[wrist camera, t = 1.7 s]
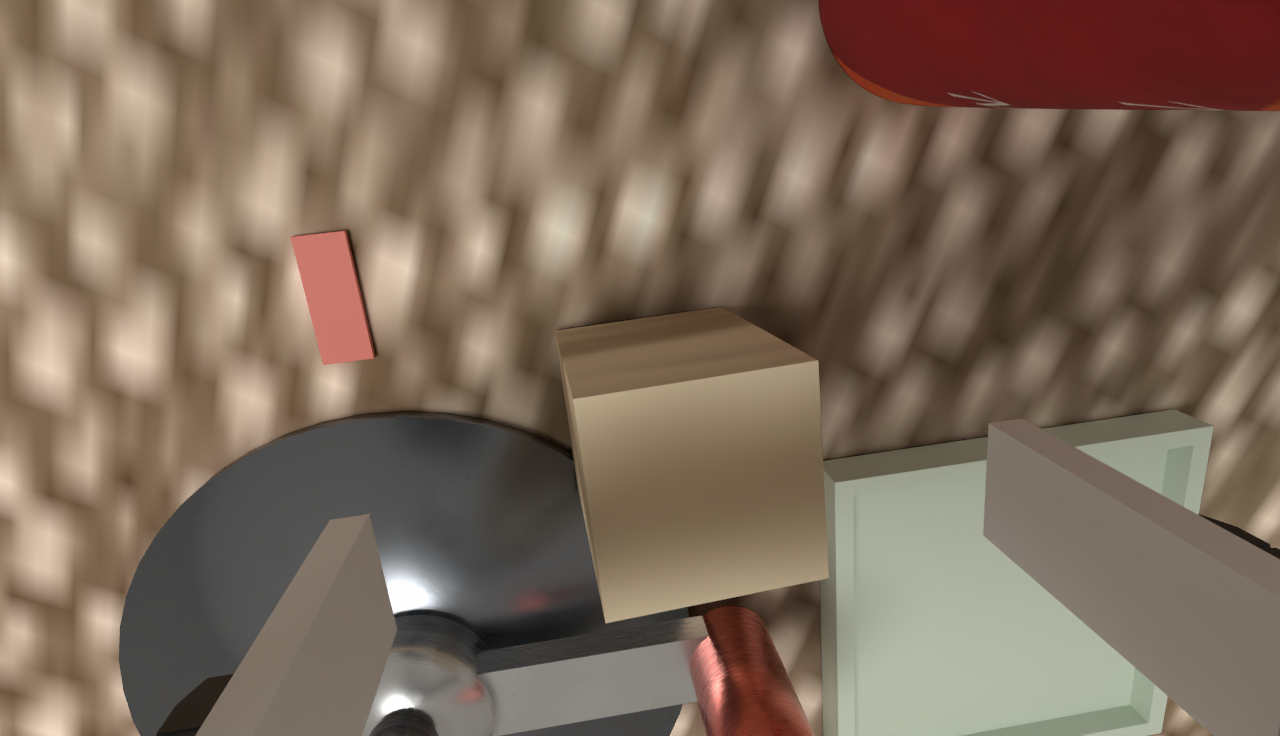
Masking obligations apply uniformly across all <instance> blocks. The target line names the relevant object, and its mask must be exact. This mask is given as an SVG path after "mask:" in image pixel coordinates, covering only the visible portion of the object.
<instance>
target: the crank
mask: <svg viewBox="0 0 1280 736" xmlns="http://www.w3.org/2000/svg"><path fill="white" fill-rule="evenodd" d="M395 622H396V626H397V632H396V635H395V638H394V641H393V644H392V647H391V650H390V653H389V656H388V659H387V662H386V665H385V668H384V671H383V674H382V677H381V680H380V683H379V686H378V689H377V692H376V695H375V698H374V701H373V704H372V707H371V710H370V713H369V716H368V719H367V722H366V725H365V728H364V731H363V734H362V736H369V735H370V733H371V731H372V730H373V729H374V728H375V726H376V725H378V724H379V723H380V722H382V721H383V720H386V719H388V718H391V717H394V716H401V715H408V716H415V717H418V718H421V719H423V720H425V721H427V722H428V723H430V724H431V725H432V726H433V727H434V728H435V730H436V731H437V733H438V736H501V735H506V734H512V733H518V732H524V731H529V730H535V729H541V728H547V727H553V726H558V725H564V724H570V723H576V722H581V721H587V720H593V719H599V718H604V717H610V716H616V715H622V714H627V713H633V712H639V711H645V710H650V709H656V708H662V707H668V706H674V705H679V704H685V703H691V702H698V705H699V709H700V713H701V717H702V721H703V725H704V728H705V732H706V736H815V735H814V733H813V731H812V729H811V726H810V724H809V722H808V720H807V717H806V715H805V713H804V711H803V708H802V706H801V704H800V702H799V699H798V697H797V695H796V693H795V690H794V688H793V686H792V684H791V681H790V679H789V677H788V675H787V672H786V670H785V668H784V666H783V663H782V661H781V659H780V657H779V654H778V652H777V650H776V648H775V645H774V643H773V641H772V639H771V636H770V634H769V632H768V630H767V627H766V625H765V623H764V622H763V620H762V619H761V618H760V617H759V616H758V615H757V614H756V613H755V612H753V611H751V610H749V609H746V608H743V607H738V606H726V607H720V608H716V609H714V610H711V611H709V612H707V613H705V614H704V615H702V616H696V617H690V618H684V619H678V620H672V621H665V622H659V623H653V624H647V625H641V626H635V627H629V628H623V629H616V630H610V631H604V632H598V633H592V634H586V635H580V636H574V637H567V638H561V639H555V640H549V641H543V642H537V643H531V644H525V645H518V646H512V647H506V648H500V649H494V650H490V649H489V648H488V646H487V645H486V643H485V642H484V641H483V640H482V639H481V638H480V637H479V636H478V635H476V634H475V633H474V632H473V631H471V630H470V629H468V628H467V627H465V626H463V625H461V624H459V623H457V622H454V621H452V620H449V619H446V618H441V617H437V616H429V615H410V616H402V617H397V618H395Z"/></svg>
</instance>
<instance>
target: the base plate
mask: <svg viewBox="0 0 1280 736" xmlns="http://www.w3.org/2000/svg"><path fill="white" fill-rule="evenodd" d="M366 514H369V515H370V519H371V524H372V528H373V532H374V536H375V540H376V544H377V548H378V552H379V556H380V561H381V565H382V569H383V573H384V577H385V581H386V585H387V589H388V593H389V598H390V602H391V606H392V610H393V614H394V618H397V617H402V616H410V615H429V616H437V617H441V618H446V619H449V620H452V621H454V622H457V623H459V624H461V625H463V626H465V627H467V628H468V629H470V630H471V631H473V632H474V633H475V634H476V635H478V636H479V637H480V638H481V639H482V640H483V641H484V642H485V643H486V645H487V646H488V648H489V649H490V650H494V649H500V648H506V647H512V646H518V645H525V644H531V643H537V642H543V641H549V640H555V639H561V638H567V637H574V636H580V635H586V634H592V633H598V632H604V631H610V630H616V629H623V628H629V627H635V626H641V625H647V624H653V623H659V622H665V621H672V620H678V619H684V618H689V614H688V608H687V607H684V608H679V609H674V610H669V611H664V612H660V613H655V614H650V615H645V616H640V617H635V618H630V619H625V620H620V621H615V622H610V623H605V618H604V613H603V608H602V604H601V599H600V594H599V589H598V584H597V579H596V574H595V569H594V564H593V559H592V555H591V550H590V545H589V540H588V535H587V530H586V525H585V520H584V515H583V510H582V505H581V501H580V496H579V491H578V485H577V478H576V471H575V464H574V458H573V454H571V453H570V452H568V451H566V450H565V449H563V448H561V447H560V446H558V445H555V444H553V443H551V442H548V441H546V440H544V439H541V438H539V437H537V436H534V435H532V434H530V433H527V432H525V431H522V430H519V429H516V428H512V427H509V426H505V425H502V424H498V423H495V422H491V421H488V420H484V419H478V418H472V417H466V416H460V415H454V414H447V413H429V412H407V411H404V412H390V413H376V414H363V415H358V416H353V417H348V418H343V419H338V420H333V421H328V422H323V423H320V424H317V425H314V426H311V427H308V428H305V429H302V430H299V431H296V432H293V433H289V434H286V435H284V436H282V437H280V438H278V439H275V440H273V441H271V442H269V443H267V444H265V445H263V446H261V447H259V448H257V449H255V450H252V451H250V452H248V453H247V454H245V455H244V456H242V457H241V458H239V459H238V460H236V461H235V462H233V463H232V464H230V465H229V466H227V467H226V468H224V469H223V470H221V471H219V472H218V473H217V474H215V475H214V476H213V477H212V478H211V479H210V480H209V481H207V482H206V483H205V484H204V485H203V486H202V487H201V488H199V489H198V490H197V491H196V492H195V493H194V494H193V495H192V496H190V497H189V498H188V499H187V500H186V501H185V502H184V503H183V504H182V505H181V506H180V507H179V508H178V509H177V511H176V512H175V513H174V514H173V515H172V517H171V518H170V519H169V520H168V521H167V523H166V524H165V525H164V526H163V527H162V529H161V530H160V531H159V532H158V533H157V535H156V536H155V538H154V540H153V541H152V543H151V545H150V546H149V548H148V550H147V551H146V553H145V555H144V556H143V558H142V560H141V561H140V563H139V565H138V568H137V570H136V573H135V575H134V578H133V580H132V583H131V585H130V588H129V591H128V593H127V596H126V601H125V606H124V610H123V615H122V620H121V625H120V645H119V663H120V669H121V676H122V683H123V690H124V694H125V697H126V700H127V703H128V706H129V709H130V712H131V715H132V719H133V722H134V724H135V725H136V727H137V729H138V731H139V733H140V735H141V736H156V733H157V732H158V730H159V729H160V728H161V726H162V725H163V723H164V722H165V720H166V719H167V717H168V716H169V715H170V713H171V712H172V710H173V709H174V707H175V706H176V705H177V704H178V703H179V702H180V701H181V700H182V699H184V698H185V697H186V696H187V695H188V694H189V693H191V692H192V691H193V690H194V689H195V688H196V687H197V686H199V685H200V684H201V683H202V682H203V681H204V680H205V679H207V678H211V677H217V676H223V675H229V674H234V673H235V671H236V670H237V668H238V667H239V665H240V663H241V662H242V660H243V659H244V657H245V655H246V654H247V652H248V651H249V649H250V647H251V646H252V644H253V642H254V641H255V639H256V638H257V636H258V634H259V633H260V631H261V630H262V628H263V626H264V625H265V623H266V622H267V620H268V618H269V617H270V615H271V614H272V612H273V610H274V609H275V607H276V606H277V604H278V602H279V601H280V599H281V598H282V596H283V594H284V593H285V591H286V590H287V588H288V586H289V585H290V583H291V582H292V580H293V578H294V577H295V575H296V574H297V572H298V570H299V569H300V567H301V565H302V564H303V562H304V561H305V559H306V557H307V556H308V554H309V553H310V551H311V549H312V548H313V546H314V545H315V543H316V541H317V540H318V538H319V537H320V535H321V533H322V532H323V530H324V529H325V527H326V525H327V524H328V522H329V521H330V520H332V519H339V518H346V517H352V516H359V515H366ZM681 707H682V704H679V705H674V706H668V707H662V708H656V709H650V710H645V711H639V712H633V713H627V714H622V715H616V716H610V717H604V718H599V719H593V720H587V721H581V722H576V723H570V724H564V725H558V726H553V727H547V728H541V729H535V730H529V731H524V732H518V733H512V734H506V735H501V736H670V733H671V731H672V729H673V727H674V725H675V722H676V720H677V718H678V716H679V714H680V711H681ZM369 736H438V733H437V731H436V730H435V728H434V727H433V726H432V725H431V724H430V723H428V722H427V721H425V720H423V719H421V718H418V717H415V716H408V715H401V716H394V717H391V718H388V719H386V720H383V721H382V722H380V723H379V724H378V725H376V726H375V728H374V729H373V730H372V731H371V733H370V735H369Z"/></svg>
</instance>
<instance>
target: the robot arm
mask: <svg viewBox="0 0 1280 736" xmlns="http://www.w3.org/2000/svg"><path fill="white" fill-rule="evenodd" d="M983 536H984V537H986V538H987V539H988V540H989V541H990V542H991V543H992V544H994V545H995V546H996V547H997V548H998V549H999V550H1000V551H1002V552H1003V553H1004V554H1005V555H1006V556H1007V557H1009V558H1010V559H1011V560H1012V561H1013V562H1014V563H1015V564H1017V565H1018V566H1019V567H1020V568H1021V569H1022V570H1024V571H1025V572H1026V573H1027V574H1028V575H1029V576H1030V577H1032V578H1033V579H1034V580H1035V581H1036V582H1037V583H1038V584H1040V585H1041V586H1042V587H1043V588H1044V589H1045V590H1047V591H1048V592H1049V593H1050V594H1051V595H1052V596H1053V597H1055V598H1056V599H1057V600H1058V601H1059V602H1060V603H1061V604H1063V605H1064V606H1065V607H1066V608H1067V609H1068V610H1070V611H1071V612H1072V613H1073V614H1074V615H1075V616H1076V617H1078V618H1079V619H1080V620H1081V621H1082V622H1083V623H1085V624H1086V625H1087V626H1088V627H1089V628H1090V629H1091V630H1093V631H1094V632H1095V633H1096V634H1097V635H1098V636H1099V637H1101V638H1102V639H1103V640H1104V641H1105V642H1106V643H1108V644H1109V645H1110V646H1111V647H1112V648H1113V649H1114V650H1116V651H1117V652H1118V653H1119V654H1120V655H1121V656H1123V657H1124V658H1125V659H1126V660H1127V661H1128V662H1129V663H1131V664H1132V665H1133V666H1134V667H1135V668H1136V669H1137V670H1139V671H1140V672H1141V673H1142V674H1143V675H1144V676H1146V677H1147V678H1148V679H1149V680H1150V681H1151V682H1152V683H1154V684H1155V685H1156V686H1157V687H1158V688H1159V689H1160V690H1162V691H1163V692H1164V693H1165V694H1166V695H1167V696H1169V697H1170V698H1171V699H1172V700H1173V701H1174V702H1175V703H1177V704H1178V705H1179V706H1180V707H1181V708H1182V709H1184V710H1185V711H1186V712H1187V713H1188V714H1189V715H1190V716H1192V717H1193V718H1194V719H1195V720H1196V721H1197V722H1198V723H1200V724H1201V725H1202V726H1203V727H1204V728H1205V729H1207V730H1208V731H1209V732H1210V733H1211V734H1212V735H1213V736H1280V550H1279V549H1278V548H1271V547H1270V544H1268V543H1266V542H1264V541H1263V540H1261V539H1259V538H1257V537H1255V536H1253V535H1251V534H1249V533H1248V532H1246V531H1244V530H1242V529H1240V528H1238V527H1235V526H1232V525H1229V524H1227V523H1224V522H1221V521H1218V520H1215V519H1212V518H1209V517H1206V516H1203V515H1200V514H1199V515H1198V514H1196V513H1194V512H1192V511H1190V510H1189V509H1187V508H1185V507H1183V506H1181V505H1179V504H1178V503H1176V502H1174V501H1172V500H1170V499H1168V498H1167V497H1165V496H1163V495H1161V494H1159V493H1157V492H1156V491H1154V490H1152V489H1150V488H1148V487H1147V486H1145V485H1143V484H1141V483H1139V482H1137V481H1136V480H1134V479H1132V478H1130V477H1128V476H1126V475H1125V474H1123V473H1121V472H1119V471H1117V470H1115V469H1114V468H1112V467H1110V466H1108V465H1106V464H1104V463H1103V462H1101V461H1099V460H1097V459H1095V458H1094V457H1092V456H1090V455H1088V454H1086V453H1084V452H1083V451H1081V450H1079V449H1077V448H1075V447H1073V446H1072V445H1070V444H1068V443H1066V442H1064V441H1062V440H1061V439H1059V438H1057V437H1055V436H1053V435H1051V434H1050V433H1048V432H1046V431H1044V430H1042V429H1041V428H1039V427H1037V426H1035V425H1033V424H1031V423H1030V422H1028V421H1026V420H1024V419H1022V418H1021V419H1014V420H1007V421H1001V422H994V423H989V426H988V446H987V467H986V487H985V508H984V528H983ZM396 632H397V626H396V622H395V618H394V614H393V610H392V606H391V602H390V598H389V593H388V589H387V585H386V581H385V577H384V573H383V569H382V565H381V561H380V556H379V552H378V548H377V544H376V540H375V536H374V532H373V528H372V524H371V519H370V515H369V514H366V515H359V516H352V517H346V518H339V519H332V520H330V521H329V522H328V524H327V525H326V527H325V529H324V530H323V532H322V533H321V535H320V537H319V538H318V540H317V541H316V543H315V545H314V546H313V548H312V549H311V551H310V553H309V554H308V556H307V557H306V559H305V561H304V562H303V564H302V565H301V567H300V569H299V570H298V572H297V574H296V575H295V577H294V578H293V580H292V582H291V583H290V585H289V586H288V588H287V590H286V591H285V593H284V594H283V596H282V598H281V599H280V601H279V602H278V604H277V606H276V607H275V609H274V610H273V612H272V614H271V615H270V617H269V618H268V620H267V622H266V623H265V625H264V626H263V628H262V630H261V631H260V633H259V634H258V636H257V638H256V639H255V641H254V642H253V644H252V646H251V647H250V649H249V651H248V652H247V654H246V655H245V657H244V659H243V660H242V662H241V663H240V665H239V667H238V668H237V670H236V671H235V673H234V674H229V675H223V676H217V677H211V678H207V679H205V680H204V681H203V682H202V683H201V684H200V685H199V686H197V687H196V688H195V689H194V690H193V691H192V692H191V693H189V694H188V695H187V696H186V697H185V698H184V699H182V700H181V701H180V702H179V703H178V704H177V705H176V706H175V707H174V709H173V710H172V712H171V713H170V715H169V716H168V717H167V719H166V720H165V722H164V723H163V725H162V726H161V728H160V729H159V730H158V732H157V733H156V736H362V734H363V731H364V728H365V725H366V722H367V719H368V716H369V713H370V710H371V707H372V704H373V701H374V698H375V695H376V692H377V689H378V686H379V683H380V680H381V677H382V674H383V671H384V668H385V665H386V662H387V659H388V656H389V653H390V650H391V647H392V644H393V641H394V638H395V635H396Z"/></svg>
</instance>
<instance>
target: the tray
mask: <svg viewBox="0 0 1280 736" xmlns="http://www.w3.org/2000/svg"><path fill="white" fill-rule="evenodd" d="M1213 427H1214V426H1213V425H1210V424H1208V423H1205V422H1203V421H1201V420H1198V419H1196V418H1194V417H1191V416H1189V415H1187V414H1184V413H1182V412H1179V411H1177V410H1175V409H1173V410H1166V411H1160V412H1153V413H1146V414H1139V415H1132V416H1126V417H1119V418H1112V419H1105V420H1098V421H1092V422H1085V423H1078V424H1071V425H1064V426H1058V427H1051V428H1044V429H1042V430H1044V431H1046V432H1048V433H1050V434H1051V435H1053V436H1055V437H1057V438H1059V439H1061V440H1062V441H1064V442H1066V443H1068V444H1070V445H1072V446H1073V447H1075V448H1077V449H1079V450H1081V451H1083V452H1084V453H1086V454H1088V455H1090V456H1092V457H1094V458H1095V459H1097V460H1099V461H1101V462H1103V463H1104V464H1106V465H1108V466H1110V467H1112V468H1114V469H1115V470H1117V471H1119V472H1121V473H1123V474H1125V475H1126V476H1128V477H1130V478H1132V479H1134V480H1136V481H1137V482H1139V483H1141V484H1143V485H1145V486H1147V487H1148V488H1150V489H1152V490H1154V491H1156V492H1157V493H1159V494H1161V495H1163V496H1165V497H1167V498H1168V499H1170V500H1172V501H1174V502H1176V503H1178V504H1179V505H1181V506H1183V507H1185V508H1187V509H1189V510H1190V511H1192V512H1194V513H1196V514H1198V515H1199V509H1200V503H1201V498H1202V492H1203V486H1204V480H1205V474H1206V468H1207V462H1208V457H1209V451H1210V445H1211V439H1212V433H1213ZM987 446H988V437H983V438H976V439H969V440H962V441H955V442H949V443H942V444H935V445H928V446H921V447H915V448H908V449H901V450H894V451H887V452H881V453H874V454H867V455H860V456H853V457H847V458H840V459H833V460H826V461H823V468H824V489H825V510H826V531H827V552H828V573H829V578H827V579H822V580H820V607H821V651H822V696H823V736H1147V735H1152V734H1158V733H1161V731H1162V725H1163V720H1164V714H1165V708H1166V702H1167V695H1166V694H1165V693H1164V692H1163V691H1162V690H1160V689H1159V688H1158V687H1157V686H1156V685H1155V684H1154V683H1152V682H1151V681H1150V680H1149V679H1148V678H1147V677H1146V676H1144V675H1143V674H1142V673H1141V672H1140V671H1139V670H1137V669H1136V668H1135V667H1134V666H1133V665H1132V664H1131V663H1129V662H1128V661H1127V660H1126V659H1125V658H1124V657H1123V656H1121V655H1120V654H1119V653H1118V652H1117V651H1116V650H1114V649H1113V648H1112V647H1111V646H1110V645H1109V644H1108V643H1106V642H1105V641H1104V640H1103V639H1102V638H1101V637H1099V636H1098V635H1097V634H1096V633H1095V632H1094V631H1093V630H1091V629H1090V628H1089V627H1088V626H1087V625H1086V624H1085V623H1083V622H1082V621H1081V620H1080V619H1079V618H1078V617H1076V616H1075V615H1074V614H1073V613H1072V612H1071V611H1070V610H1068V609H1067V608H1066V607H1065V606H1064V605H1063V604H1061V603H1060V602H1059V601H1058V600H1057V599H1056V598H1055V597H1053V596H1052V595H1051V594H1050V593H1049V592H1048V591H1047V590H1045V589H1044V588H1043V587H1042V586H1041V585H1040V584H1038V583H1037V582H1036V581H1035V580H1034V579H1033V578H1032V577H1030V576H1029V575H1028V574H1027V573H1026V572H1025V571H1024V570H1022V569H1021V568H1020V567H1019V566H1018V565H1017V564H1015V563H1014V562H1013V561H1012V560H1011V559H1010V558H1009V557H1007V556H1006V555H1005V554H1004V553H1003V552H1002V551H1000V550H999V549H998V548H997V547H996V546H995V545H994V544H992V543H991V542H990V541H989V540H988V539H987V538H986V537H984V536H983V528H984V508H985V487H986V467H987Z"/></svg>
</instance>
